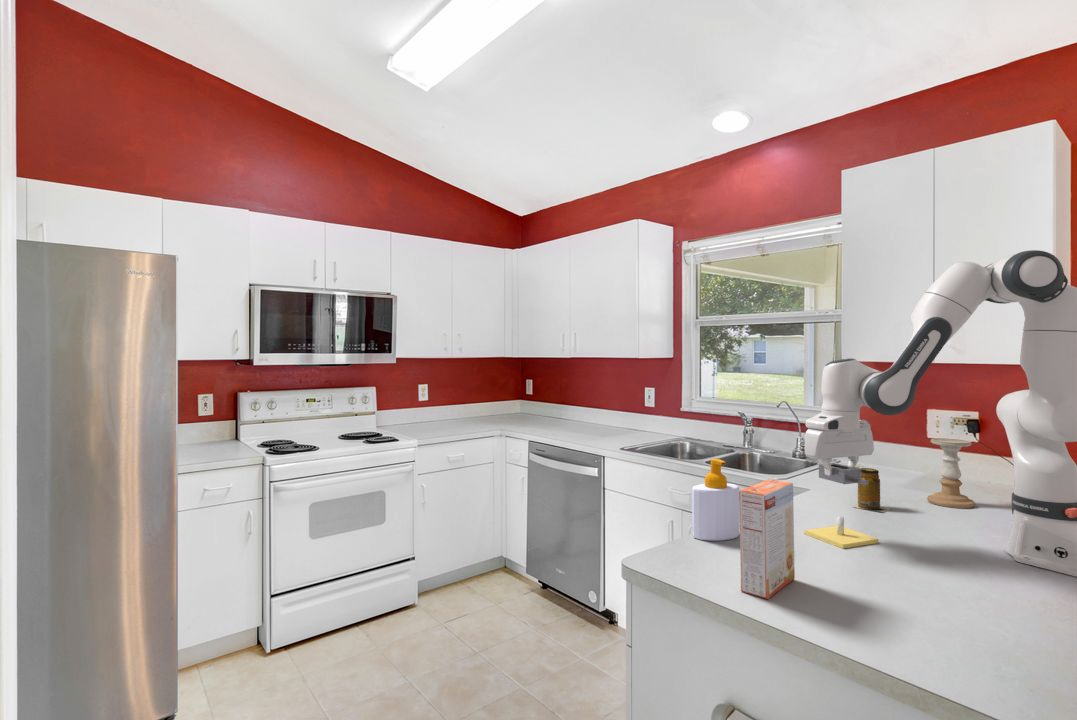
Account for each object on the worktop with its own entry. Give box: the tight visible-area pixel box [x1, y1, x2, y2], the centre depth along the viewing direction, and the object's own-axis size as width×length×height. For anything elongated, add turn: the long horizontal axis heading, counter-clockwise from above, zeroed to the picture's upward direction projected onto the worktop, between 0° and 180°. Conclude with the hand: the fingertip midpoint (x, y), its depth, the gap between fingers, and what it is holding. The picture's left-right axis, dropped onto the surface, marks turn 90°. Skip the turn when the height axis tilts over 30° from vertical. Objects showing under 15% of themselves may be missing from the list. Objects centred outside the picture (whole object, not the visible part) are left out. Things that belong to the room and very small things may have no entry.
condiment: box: [852, 467, 892, 513], centre depth 172 cm, size 7×8×12 cm
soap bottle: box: [691, 458, 740, 542], centre depth 146 cm, size 13×8×20 cm, turn 105°
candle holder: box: [926, 437, 976, 509], centre depth 176 cm, size 12×12×20 cm
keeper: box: [803, 515, 879, 549], centre depth 144 cm, size 12×12×6 cm
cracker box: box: [739, 478, 796, 600], centre depth 115 cm, size 14×6×21 cm, turn 134°
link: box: [818, 462, 868, 485], centre depth 142 cm, size 12×6×4 cm, turn 19°
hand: (839, 473), depth 144 cm, fingers closed on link, 6 cm apart
